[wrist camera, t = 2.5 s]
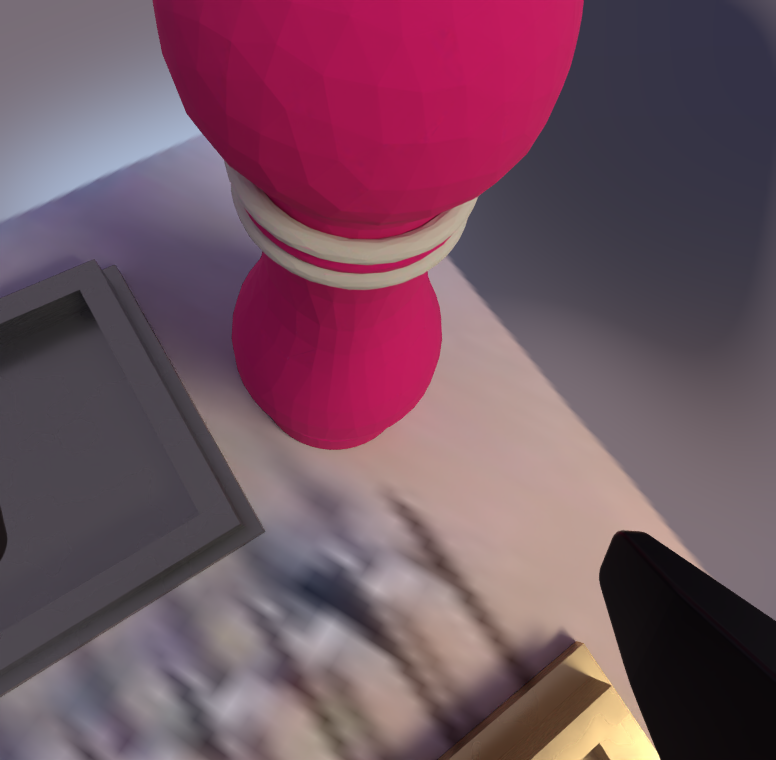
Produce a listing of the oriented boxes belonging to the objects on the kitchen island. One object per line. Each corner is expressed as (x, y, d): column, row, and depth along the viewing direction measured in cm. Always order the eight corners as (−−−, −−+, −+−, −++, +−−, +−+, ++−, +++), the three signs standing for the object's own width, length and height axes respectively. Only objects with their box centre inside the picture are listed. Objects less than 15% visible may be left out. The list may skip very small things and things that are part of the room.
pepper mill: (212, 375, 22) (-396, -738, 3) (335, 275, 24) (405, -702, 6) (332, 499, 21) (480, -78, 2) (449, 382, 23) (1007, -379, 4)
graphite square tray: (-106, 763, 16) (-163, 790, 14) (-227, 420, 19) (-288, 403, 17) (265, 531, 20) (260, 528, 18) (119, 271, 23) (101, 244, 21)
